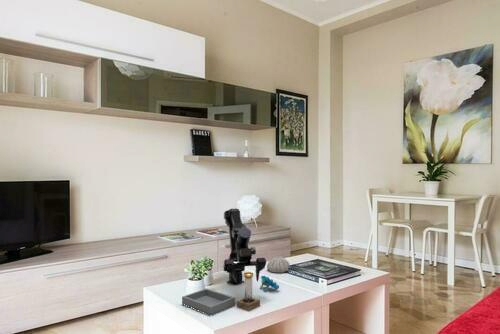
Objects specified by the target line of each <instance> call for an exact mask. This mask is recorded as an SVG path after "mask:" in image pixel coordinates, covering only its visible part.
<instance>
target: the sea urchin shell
mask: <svg viewBox="0 0 500 334" xmlns="http://www.w3.org/2000/svg"><path fill="white" fill-rule="evenodd" d="M266 264H267V265H266V269H267V270H268V271H269V272H270V273H277V274H280V273H282V274H283V273H286V272H285V271H287V269H288V268H291V264H290V263H289V261H288V260H287V259H286V258H284V257H282V256H279V255H278V256H274V257H273V258H271V259H270V260H269V261H268V262H267V263H266ZM287 272H288V271H287Z"/></svg>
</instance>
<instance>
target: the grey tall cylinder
mask: <svg viewBox="0 0 500 334" xmlns="http://www.w3.org/2000/svg"><path fill="white" fill-rule="evenodd" d="M243 277H244V298H245V302H246V303H251V302H252V298H253V277H254V273H253V272H250V271H247V272H243Z"/></svg>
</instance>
